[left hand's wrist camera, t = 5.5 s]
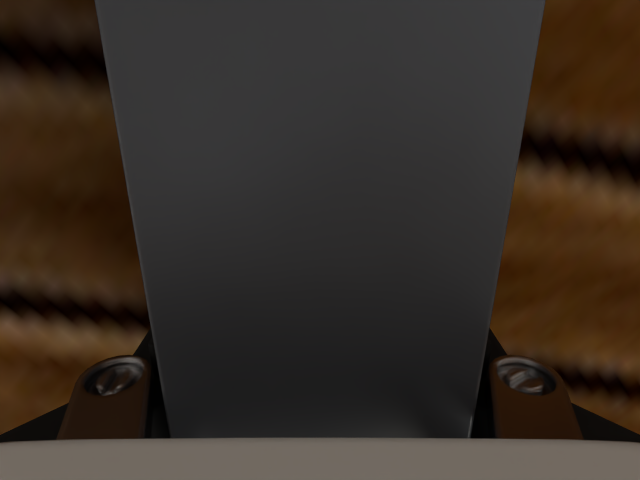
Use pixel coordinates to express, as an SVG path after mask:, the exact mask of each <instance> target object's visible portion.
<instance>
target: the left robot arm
mask: <svg viewBox="0 0 640 480" xmlns="http://www.w3.org/2000/svg"><path fill="white" fill-rule="evenodd" d="M0 480H640V435H639V434H637V433H635V432H632V431H630V430H628V429H626V428H624V427H622V426H620V425H618V424H615V423H613V422H611V421H609V420H607V419H605V418H603V417H600V416H598V415H596V414H594V413H592V412H590V411H588V410H586V409H583V408H581V407H579V406H577V405H575V404H573V403H571V401H570V398H569V395H568V392H567V389H566V387H565V384H564V382H563V380H562V378H561V377H560V375H559V374H558V373H557V372H555V371H554V370H553V369H552V368H550V367H549V366H547V365H546V364H544V363H542V362H540V361H537V360H535V359H532V358H528V357H524V356H518V355H507V354H506V352H505V351H504V349H503V348H502V346H501V345H500V343H499V342H498V340H497V339H496V337H495V336H494V334H493V332H492V331H491V329H490V328H489V332H488V338H487V344H486V350H485V356H484V362H483V368H482V373H481V379H480V385H479V391H478V397H477V403H476V408H475V414H474V420H473V426H472V432H471V438H470V439H464V438H176V439H170V434H169V429H168V423H167V417H166V411H165V406H164V400H163V394H162V388H161V382H160V377H159V371H158V365H157V359H156V353H155V348H154V342H153V336H152V330H151V328H150V330H149V332H148V333H147V335H146V336H145V338H144V339H143V341H142V342H141V344H140V345H139V347H138V348H137V350H136V351H135V353H134V354H133V355H122V356H116V357H112V358H108V359H105V360H103V361H100V362H98V363H96V364H94V365H93V366H91V367H90V368H88V369H87V370H86V371H85V372H83V373H82V374H81V375H80V377H79V378H78V380H77V382H76V384H75V387H74V389H73V392H72V395H71V398H70V401H69V403H68V404H65V405H63V406H61V407H59V408H57V409H55V410H53V411H50V412H48V413H46V414H44V415H42V416H40V417H38V418H36V419H33V420H31V421H29V422H27V423H25V424H23V425H21V426H18V427H16V428H14V429H12V430H10V431H8V432H6V433H4V434H1V435H0Z"/></svg>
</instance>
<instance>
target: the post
mask: <svg viewBox="0 0 640 480" xmlns="http://www.w3.org/2000/svg"><path fill="white" fill-rule="evenodd" d="M544 5H545V0H95V6H96V12H97V17H98V23H99V29H100V35H101V40H102V46H103V52H104V58H105V64H106V69H107V75H108V81H109V87H110V93H111V98H112V104H113V110H114V116H115V122H116V127H117V133H118V139H119V145H120V151H121V156H122V162H123V168H124V174H125V180H126V185H127V191H128V197H129V203H130V209H131V214H132V220H133V226H134V232H135V237H136V243H137V249H138V255H139V261H140V266H141V272H142V278H143V284H144V290H145V295H146V301H147V307H148V313H149V319H150V324H151V330H152V336H153V342H154V348H155V353H156V359H157V365H158V371H159V377H160V382H161V388H162V394H163V400H164V406H165V411H166V417H167V423H168V429H169V434H170V439H176V438H464V439H470V438H471V432H472V426H473V420H474V414H475V408H476V403H477V397H478V391H479V385H480V379H481V373H482V368H483V362H484V356H485V350H486V344H487V338H488V332H489V327H490V321H491V315H492V309H493V303H494V297H495V292H496V286H497V280H498V274H499V268H500V262H501V257H502V251H503V245H504V239H505V233H506V227H507V222H508V216H509V210H510V204H511V198H512V192H513V186H514V181H515V175H516V169H517V163H518V157H519V151H520V146H521V140H522V134H523V128H524V122H525V116H526V111H527V105H528V99H529V93H530V87H531V81H532V76H533V70H534V64H535V58H536V52H537V46H538V40H539V35H540V29H541V23H542V17H543V11H544Z"/></svg>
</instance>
